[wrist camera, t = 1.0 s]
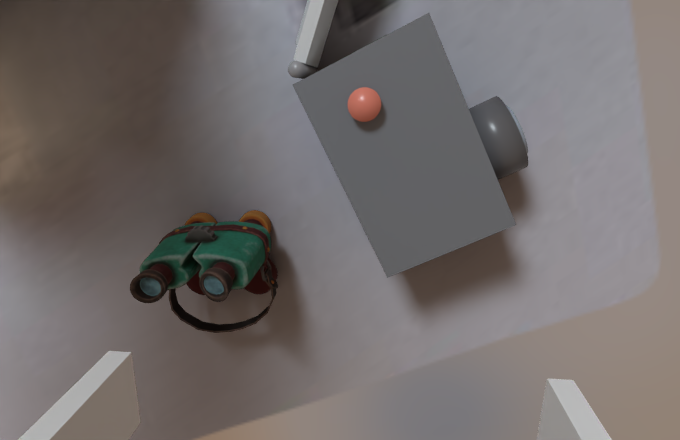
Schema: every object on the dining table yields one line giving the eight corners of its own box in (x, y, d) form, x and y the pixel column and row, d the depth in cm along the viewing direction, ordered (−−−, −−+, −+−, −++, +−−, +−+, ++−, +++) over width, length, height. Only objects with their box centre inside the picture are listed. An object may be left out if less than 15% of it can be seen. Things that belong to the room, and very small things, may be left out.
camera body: (309, 82, 35) (287, 80, 27) (454, 6, 32) (475, -19, 25) (387, 244, 38) (387, 282, 30) (526, 184, 35) (563, 210, 28)
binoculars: (140, 385, 32) (102, 258, 29) (197, 304, 42) (174, 201, 38) (264, 385, 31) (241, 253, 28) (293, 302, 41) (279, 196, 37)
